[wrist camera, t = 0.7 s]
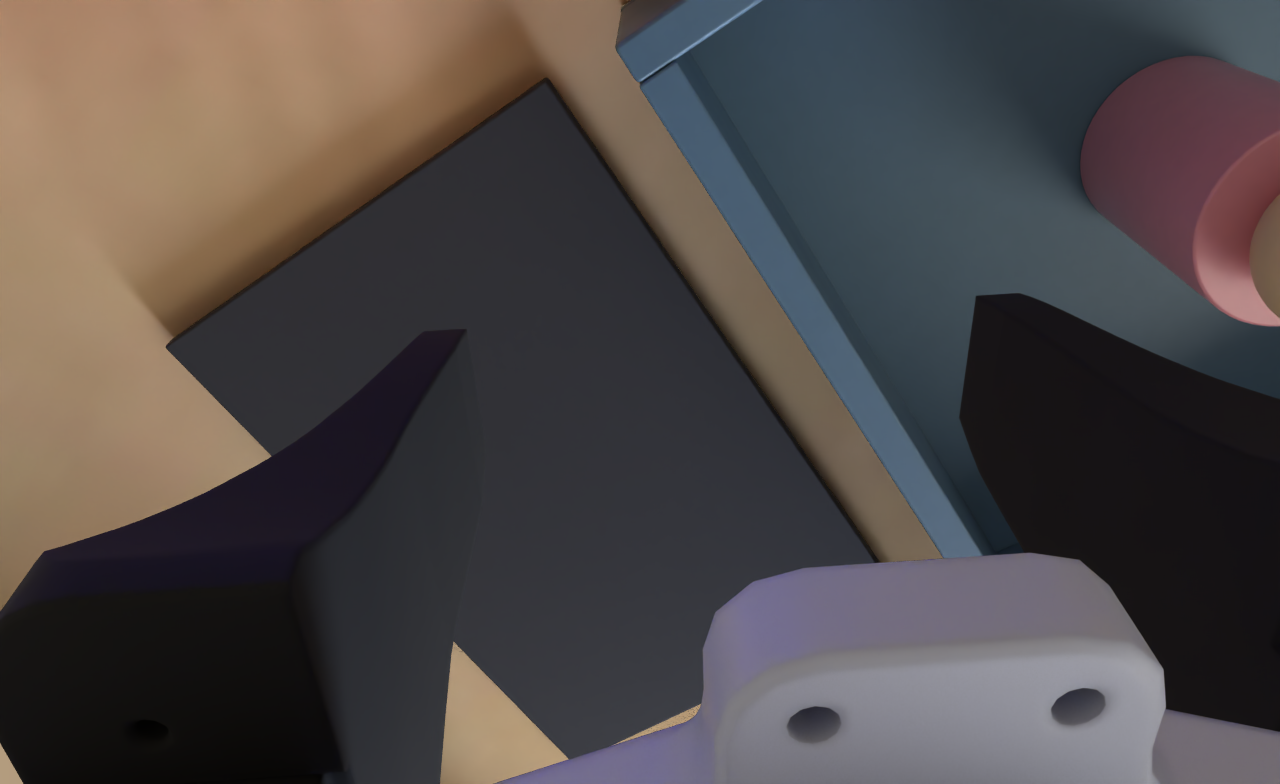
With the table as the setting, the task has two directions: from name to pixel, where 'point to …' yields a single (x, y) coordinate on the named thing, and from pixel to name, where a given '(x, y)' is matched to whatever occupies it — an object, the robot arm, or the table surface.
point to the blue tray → (936, 192)
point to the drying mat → (548, 415)
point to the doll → (1195, 177)
